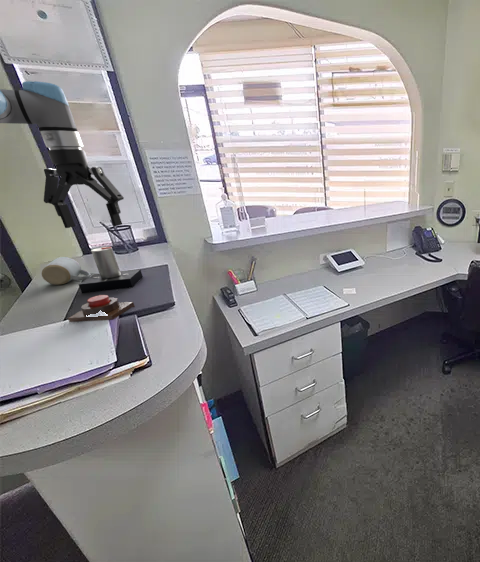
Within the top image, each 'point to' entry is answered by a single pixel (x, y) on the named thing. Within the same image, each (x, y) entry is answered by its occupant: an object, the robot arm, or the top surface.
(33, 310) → the top surface
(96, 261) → the silver cylinder
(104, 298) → the power button
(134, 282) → the panel
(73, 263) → the ceramic mug
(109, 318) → the button block
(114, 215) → the robot arm
